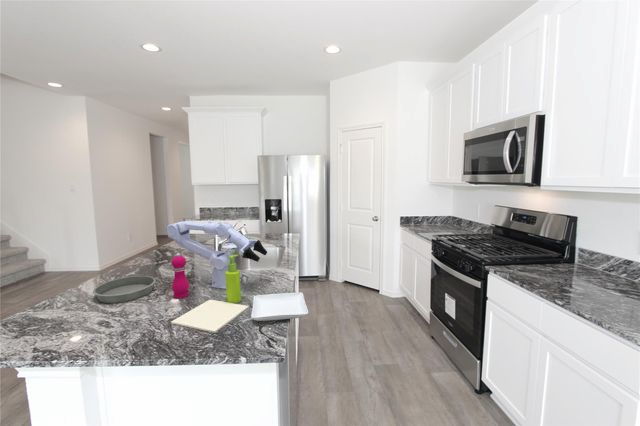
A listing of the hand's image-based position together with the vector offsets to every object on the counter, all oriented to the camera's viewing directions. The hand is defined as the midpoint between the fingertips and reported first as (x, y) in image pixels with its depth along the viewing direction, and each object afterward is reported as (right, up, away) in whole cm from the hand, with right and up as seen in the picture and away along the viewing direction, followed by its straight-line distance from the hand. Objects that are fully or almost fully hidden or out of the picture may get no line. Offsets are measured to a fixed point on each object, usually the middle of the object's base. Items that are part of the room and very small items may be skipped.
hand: (262, 256), depth 143 cm
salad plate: (+11, -19, -21) cm, 30 cm away
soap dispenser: (-10, -18, -11) cm, 23 cm away
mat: (-15, -19, -24) cm, 35 cm away
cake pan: (-63, -17, -2) cm, 66 cm away
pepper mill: (-36, -17, -6) cm, 40 cm away
